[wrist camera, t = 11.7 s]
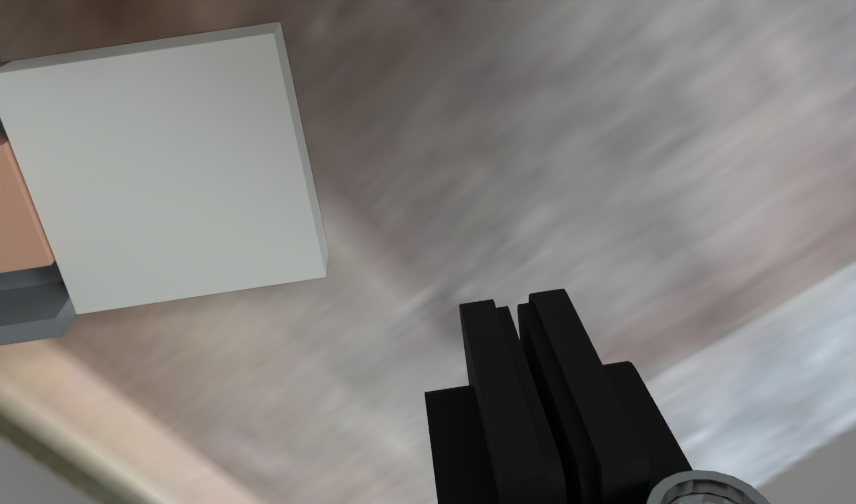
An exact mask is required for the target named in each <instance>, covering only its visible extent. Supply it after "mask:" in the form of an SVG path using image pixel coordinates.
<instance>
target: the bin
mask: <svg viewBox="0 0 856 504" xmlns="http://www.w3.org/2000/svg"><path fill="white" fill-rule="evenodd" d="M9 62H11V61H8V62H1V63H0V67H2V66H4V65H6V64H7V63H9ZM0 132H5V129H4V126H3V123H2V121H1V118H0ZM76 315H77V314H76V311H75V309H74V306H73V303H72V301H71V298H70V296H69V293H68V291H67V288H66V285H65V283H64V280H63V278H62V275H61V273H60V270H59V267H58V265H57V262H56V260H55V261H54V262H53V263H52V264H51V265H48V266H42V267H35V268H29V269H22V270H16V271H9V272H3V273H0V345H7V344H13V343H20V342H27V341H33V340H40V339H46V338H53V337H60V336H63V335H64V333H65V332H66V330H67V329H68V327H69V326H70V324H71V323H72V321H73V320H74V318H75V317H76Z"/></svg>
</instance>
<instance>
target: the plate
mask: <svg viewBox="0 0 856 504" xmlns="http://www.w3.org/2000/svg"><path fill="white" fill-rule="evenodd" d="M0 118H1V121H2V123H3V126H4V129H5V131H6V134H7V136H8V139H9V141H10V144H11V147H12V149H13V152H14V154H15V157H16V159H17V162H18V165H19V167H20V170H21V172H22V175H23V177H24V180H25V183H26V185H27V188H28V190H29V193H30V195H31V198H32V201H33V203H34V206H35V208H36V211H37V213H38V216H39V219H40V221H41V224H42V226H43V229H44V231H45V234H46V237H47V239H48V242H49V244H50V247H51V249H52V252H53V255H54V257H55V260H56V262H57V265H58V267H59V270H60V273H61V275H62V278H63V280H64V283H65V285H66V288H67V291H68V293H69V296H70V298H71V301H72V303H73V306H74V309H75V311H76V314H84V313H90V312H97V311H104V310H110V309H117V308H124V307H130V306H137V305H143V304H150V303H157V302H163V301H170V300H177V299H183V298H190V297H196V296H203V295H210V294H216V293H223V292H230V291H236V290H243V289H249V288H256V287H263V286H269V285H276V284H283V283H289V282H296V281H302V280H309V279H316V278H322V277H326V270H327V259H328V247H327V242H326V238H325V233H324V228H323V223H322V219H321V214H320V209H319V204H318V199H317V195H316V190H315V185H314V180H313V175H312V171H311V166H310V161H309V156H308V152H307V147H306V142H305V137H304V132H303V128H302V123H301V118H300V113H299V108H298V104H297V99H296V94H295V89H294V85H293V80H292V75H291V70H290V65H289V61H288V56H287V51H286V46H285V41H284V37H283V32H282V27H281V22H274V23H268V24H261V25H254V26H247V27H240V28H233V29H227V30H220V31H213V32H206V33H199V34H192V35H186V36H179V37H172V38H165V39H158V40H151V41H145V42H138V43H131V44H124V45H117V46H110V47H104V48H97V49H90V50H83V51H76V52H69V53H63V54H56V55H49V56H42V57H35V58H28V59H22V60H15V61H11V62H9V63H7V64H6V65H4V66H2V67H0Z"/></svg>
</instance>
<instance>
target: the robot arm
mask: <svg viewBox="0 0 856 504" xmlns="http://www.w3.org/2000/svg"><path fill="white" fill-rule="evenodd" d="M459 308H460V318H461V325H462V333H463V341H464V349H465V356H466V364H467V372H468V380H469V385H468V386H462V387H455V388H449V389H442V390H436V391H429V392H425V401H426V409H427V417H428V426H429V434H430V442H431V450H432V458H433V466H434V475H435V483H436V491H437V499H438V504H770V503H769V502H768V501H767V499H766V498H765V497H764V496H763V495H761V494H760V493H759V492H758V491H757V490H756V489H754V488H753V487H752V486H751V485H749V484H747V483H745V482H743V481H741V480H739V479H737V478H735V477H733V476H730V475H726V474H723V473H719V472H715V471H702V470H692V468H691V466H690V464H689V462H688V461H687V459H686V457H685V455H684V454H683V452H682V450H681V448H680V446H679V445H678V443H677V441H676V439H675V437H674V436H673V434H672V432H671V430H670V429H669V427H668V425H667V423H666V421H665V420H664V418H663V416H662V414H661V413H660V411H659V409H658V407H657V405H656V404H655V402H654V400H653V398H652V397H651V395H650V393H649V391H648V389H647V388H646V386H645V384H644V382H643V381H642V379H641V377H640V375H639V373H638V372H637V370H636V368H635V367H634V365H633V364H632V363H631V362H629V361H625V362H618V363H612V364H605V365H602V363H601V361H600V359H599V357H598V355H597V353H596V351H595V349H594V347H593V345H592V343H591V341H590V339H589V337H588V335H587V333H586V331H585V329H584V327H583V325H582V322H581V320H580V318H579V316H578V314H577V312H576V310H575V308H574V306H573V304H572V302H571V300H570V298H569V296H568V294H567V292H566V291H565V289H557V290H550V291H544V292H537V293H531V294H529V303H525V304H518V309H517V310H518V322H519V333H520V340H519V337H518V334H517V331H516V328H515V325H514V322H513V319H512V316H511V313H510V310H509V308H508V306H505V307H498V308H496V306H495V303H494V300H493V299H491V300H485V301H478V302H471V303H465V304H459Z"/></svg>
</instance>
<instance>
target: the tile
mask: <svg viewBox="0 0 856 504" xmlns="http://www.w3.org/2000/svg"><path fill="white" fill-rule="evenodd" d="M54 261H55V257H54V255H53V252H52V249H51V247H50V244H49V242H48V239H47V237H46V234H45V231H44V229H43V226H42V224H41V221H40V219H39V216H38V213H37V211H36V208H35V206H34V203H33V201H32V198H31V195H30V193H29V190H28V188H27V185H26V183H25V180H24V177H23V175H22V172H21V170H20V167H19V165H18V162H17V159H16V157H15V154H14V152H13V149H12V147H11V144H10V141H9V139H8V136H7V134H6V131H5V132H0V273H3V272H9V271H16V270H22V269H29V268H35V267H42V266H48V265H51V264H52V263H53V262H54Z"/></svg>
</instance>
